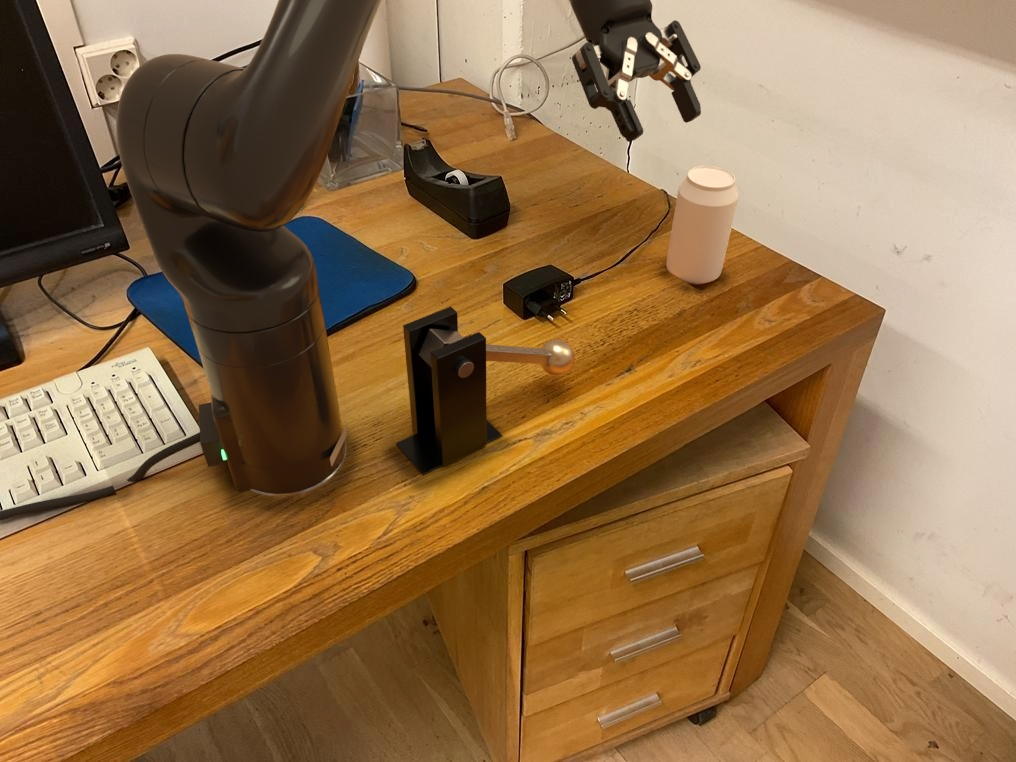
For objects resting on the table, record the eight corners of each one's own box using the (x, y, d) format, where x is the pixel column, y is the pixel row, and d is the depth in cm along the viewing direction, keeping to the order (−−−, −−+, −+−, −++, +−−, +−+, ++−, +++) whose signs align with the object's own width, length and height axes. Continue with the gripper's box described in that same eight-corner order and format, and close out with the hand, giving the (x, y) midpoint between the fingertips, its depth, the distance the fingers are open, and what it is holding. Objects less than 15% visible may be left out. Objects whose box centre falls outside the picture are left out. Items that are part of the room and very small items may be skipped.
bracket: (469, 411, 74) (466, 295, 65) (507, 449, 70) (509, 332, 62) (392, 447, 70) (378, 329, 62) (428, 490, 67) (419, 371, 58)
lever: (550, 363, 75) (564, 333, 74) (572, 382, 73) (587, 352, 72) (413, 355, 64) (427, 320, 62) (434, 377, 62) (450, 341, 60)
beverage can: (665, 256, 94) (681, 160, 86) (719, 262, 93) (740, 165, 85) (663, 285, 89) (680, 187, 82) (720, 292, 89) (743, 193, 81)
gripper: (568, -26, 78) (637, 129, 79) (672, -46, 85) (735, 96, 85) (533, 18, 85) (596, 160, 86) (631, -5, 91) (690, 127, 92)
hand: (665, 128), depth 86 cm, fingers open, 8 cm apart
